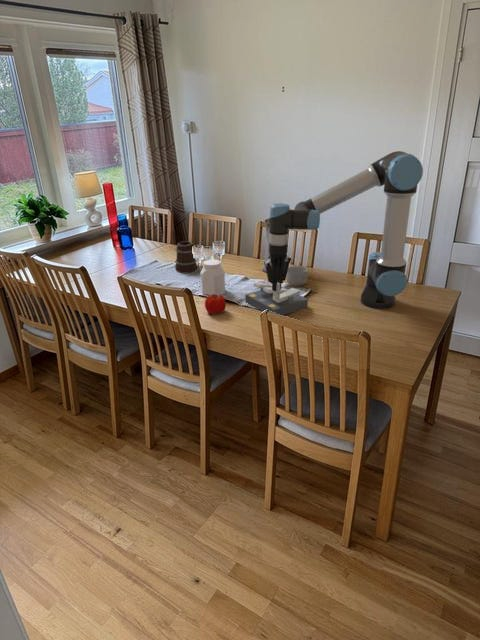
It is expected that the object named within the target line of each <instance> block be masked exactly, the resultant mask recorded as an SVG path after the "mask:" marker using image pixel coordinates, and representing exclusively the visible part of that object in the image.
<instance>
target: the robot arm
mask: <svg viewBox="0 0 480 640" xmlns="http://www.w3.org/2000/svg"><path fill="white" fill-rule="evenodd" d="M423 172H424V167H423V164H422V163H421V161H420V160H419V158H417V157H416V156H415V155H413V154H411V153H407V152H405V151H402V150H401V151H400V150H399V151H398V150H396V151H393V152H390V153H388V154H387V155H384V156H383V157H381V158H379V159H378V160H376V161H374V162H372V163H370V164H369V166H368V168H367V169H364V170H363V171H361V172H359V173H357V174H355V175H353V176H350V177H349V178H348V179H346V180H343V181H342V182H340V183H338V184H336V185H333V186H332V187H330V188H328V189H326V190H324V191H322V192H320V193H319V194H317V195H315V196H313V197H311V198H309V199H307V200H305V201H299V202H297V204H296V205H295V206H294V209H291V208H290V205H289V204H287V203H281V202H280V203H273V204H272V205H271V206H270V207H269V208H270V210H269V218H270V233H269V242H270V244H269V253H270V256H269V260H268V261H267V262H265V261H264V262H263V266H264V265H265V266H266V271H267V272H266V276H267V280H268V282H267V283H272V290H273V297H275V298H280V290H281V287H282V284H283V283H284V281H287V279H286V275H287V271H288V268H289V267H290V263H291V261H292V257H289V256H288V255H287V253H288V247H289V245H288V242H289V230H305V231H306V230H307V231H308V230H309V231H312V230H314V231H315V230H318V229H319V228H320V222H321V221H320V220H321V214H323V213H325V212H327V211H329V210H331V209H333V208H335V207H337V206H339V205H341V204H343V203H345V202H347V201H349V200H351V199H353V198H355V197H357V196H358V195H361V194H363V193H364V192H366V191H368V190H370V189H373V188H375V187H379V188H380V187H382V186H384V187H383V193H384V194H385V196H386V204H385V205H386V206H385V213H384V223H383V232H382V243H381V249H380V250H381V251H375V252H372V253H370V254H369V258H368V264H367V265H368V267H367V275H366V284H365V287H364V289H363V291H362V293H361V294H360V303H361V305H364V306H365V307H368V308H372V309H379V310H382V309H391V308H394V306H395V305H396V296H397V295H400V293H402V292H403V291H405V289H406V287H407V286H408V280H407V279H408V278H407V275H406V270H407V261H406V260H405V258H404V254H405V245H406V239H407V233H408V232H407V231H408V224H409V215H410V210H411V202H412V197H413V196H414V195H415V194H416V193H417V191H418V190H417V189H418V184H419V183H420V181H421V180H422V177H423V175H424V173H423Z"/></svg>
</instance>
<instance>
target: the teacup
mask: <svg viewBox="0 0 480 640" xmlns="http://www.w3.org/2000/svg"><path fill="white" fill-rule="evenodd" d="M308 271H309V269H308V268H307V267H305V266H301V265H296V264H295V265H293V266H289V267H288V271H287V275H286V282H287V283H288V284H289V285H291V286H292V287H302V286H304V285H305V284H306V283H307V282H308Z"/></svg>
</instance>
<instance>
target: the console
mask: <svg viewBox="0 0 480 640" xmlns="http://www.w3.org/2000/svg"><path fill="white" fill-rule="evenodd" d="M262 283H266V282H265V281H264V282H262ZM271 287H272V286H271ZM281 288H284V287H283V286H281ZM283 292H284V291H280V294H281V293H283ZM244 298H245V303H246V304H247V303H248V304H247V305H249V304H250V306H251V307H254V309H257V310H259V311H260V312H262V311H264V310H266V309H268V310H270V311H272V312H276V313H278V314H282V315H283V316H284V315H285V316H286V315H288V314H291V313H295V312H297V311H300V310H304V309H306V308H308V306H309V305H308V304H309V298H308V297H304V296H302V295H301V294H298V295H296V296H289V298H288V299H287V300H284V301H282V302H280V303H278V302H276V301H274V300H273V293H267V292H265V291H263V288H260V289H259V290H255V291H253V292H252V291H251V292H250V293H249V292H248V293H246V294H244Z"/></svg>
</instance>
